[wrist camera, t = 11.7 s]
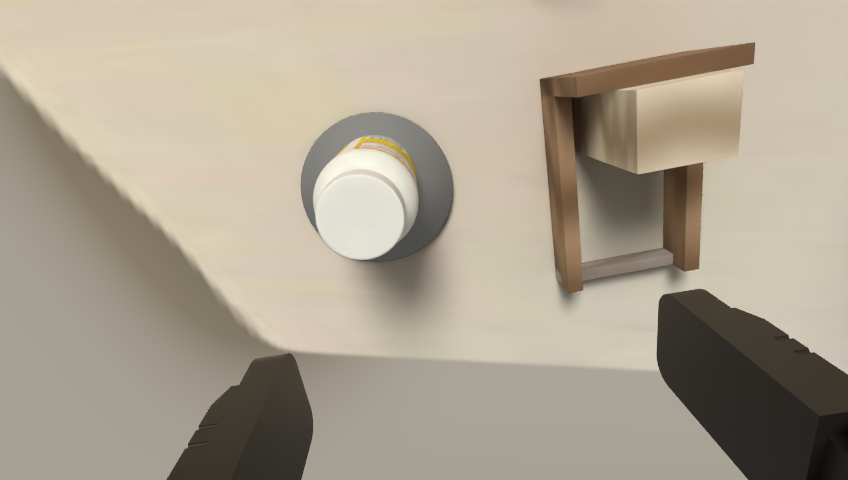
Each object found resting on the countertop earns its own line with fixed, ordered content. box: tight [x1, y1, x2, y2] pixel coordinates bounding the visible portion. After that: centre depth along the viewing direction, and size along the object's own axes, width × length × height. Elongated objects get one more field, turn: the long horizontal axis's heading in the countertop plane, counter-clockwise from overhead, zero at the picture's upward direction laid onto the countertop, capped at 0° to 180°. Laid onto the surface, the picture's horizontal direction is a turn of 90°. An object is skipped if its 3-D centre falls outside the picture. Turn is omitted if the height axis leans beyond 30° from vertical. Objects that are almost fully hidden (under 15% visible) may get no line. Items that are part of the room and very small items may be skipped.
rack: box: [540, 42, 755, 293], centre depth 26 cm, size 14×9×8 cm, turn 10°
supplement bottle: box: [313, 135, 419, 260], centre depth 24 cm, size 5×5×10 cm
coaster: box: [301, 112, 453, 261], centre depth 29 cm, size 10×10×1 cm
